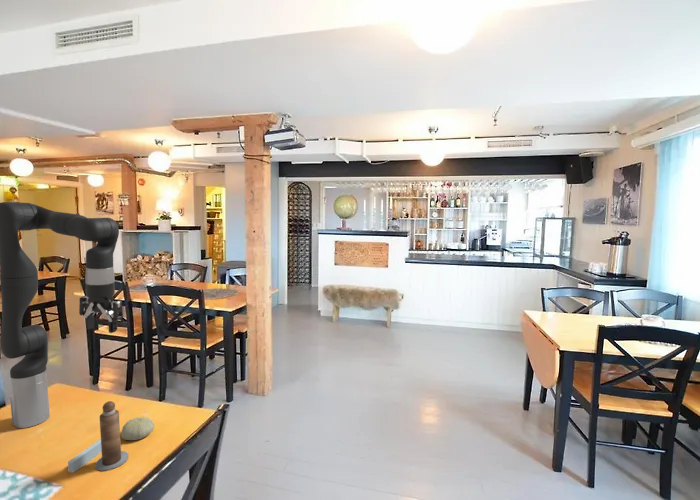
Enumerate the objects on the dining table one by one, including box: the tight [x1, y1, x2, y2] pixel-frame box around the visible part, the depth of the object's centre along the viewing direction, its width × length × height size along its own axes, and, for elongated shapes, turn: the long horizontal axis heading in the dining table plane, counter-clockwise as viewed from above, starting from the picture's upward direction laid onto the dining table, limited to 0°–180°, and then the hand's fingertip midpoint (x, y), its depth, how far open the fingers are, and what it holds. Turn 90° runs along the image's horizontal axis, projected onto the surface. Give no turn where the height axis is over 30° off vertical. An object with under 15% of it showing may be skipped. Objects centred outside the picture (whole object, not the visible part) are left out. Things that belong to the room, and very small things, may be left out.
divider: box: [67, 438, 102, 474], centre depth 106 cm, size 2×12×3 cm, turn 170°
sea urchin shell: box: [120, 416, 155, 441], centre depth 118 cm, size 9×8×8 cm
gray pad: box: [95, 450, 129, 472], centre depth 105 cm, size 8×8×1 cm
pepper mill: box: [99, 400, 122, 466], centre depth 104 cm, size 5×5×18 cm
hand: (101, 330), depth 116 cm, fingers open, 8 cm apart
